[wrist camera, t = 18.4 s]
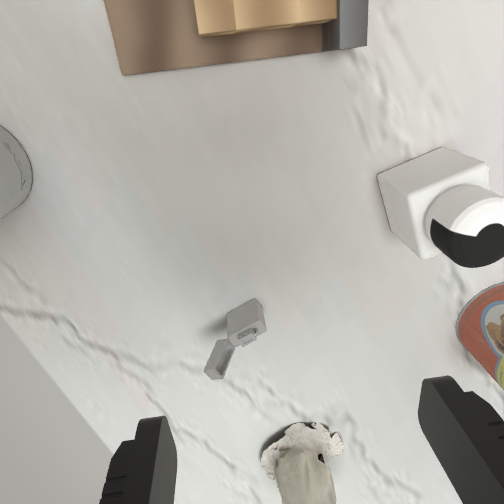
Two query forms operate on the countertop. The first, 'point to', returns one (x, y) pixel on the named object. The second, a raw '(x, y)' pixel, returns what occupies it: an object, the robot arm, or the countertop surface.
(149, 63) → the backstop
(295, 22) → the socket block
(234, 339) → the lighter
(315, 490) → the mushroom
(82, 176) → the countertop surface
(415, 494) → the countertop surface
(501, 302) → the canned food
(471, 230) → the medicine bottle
